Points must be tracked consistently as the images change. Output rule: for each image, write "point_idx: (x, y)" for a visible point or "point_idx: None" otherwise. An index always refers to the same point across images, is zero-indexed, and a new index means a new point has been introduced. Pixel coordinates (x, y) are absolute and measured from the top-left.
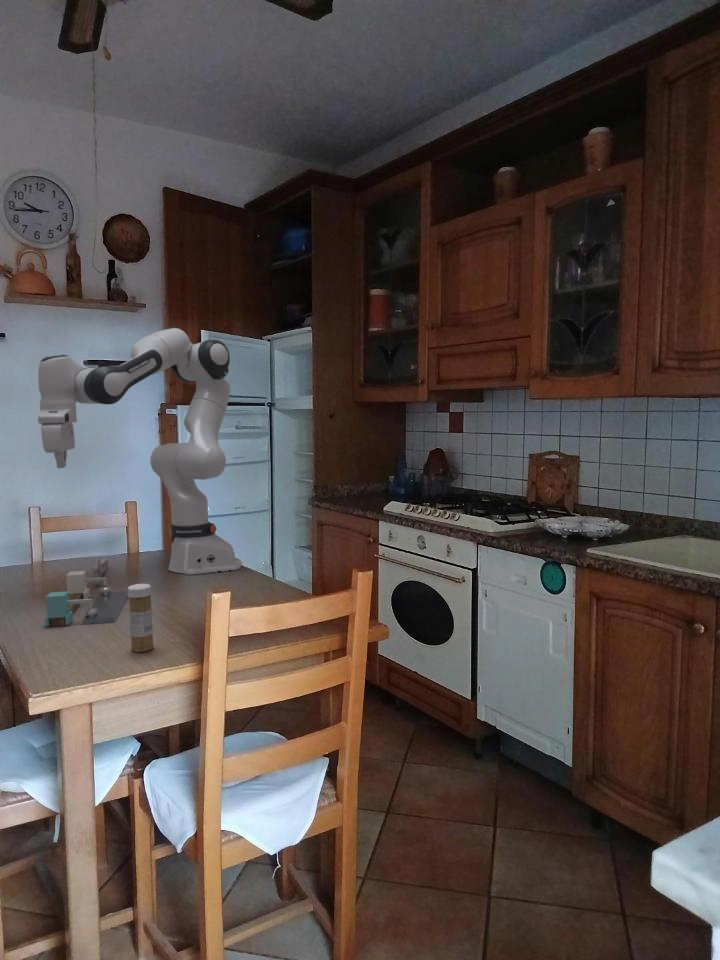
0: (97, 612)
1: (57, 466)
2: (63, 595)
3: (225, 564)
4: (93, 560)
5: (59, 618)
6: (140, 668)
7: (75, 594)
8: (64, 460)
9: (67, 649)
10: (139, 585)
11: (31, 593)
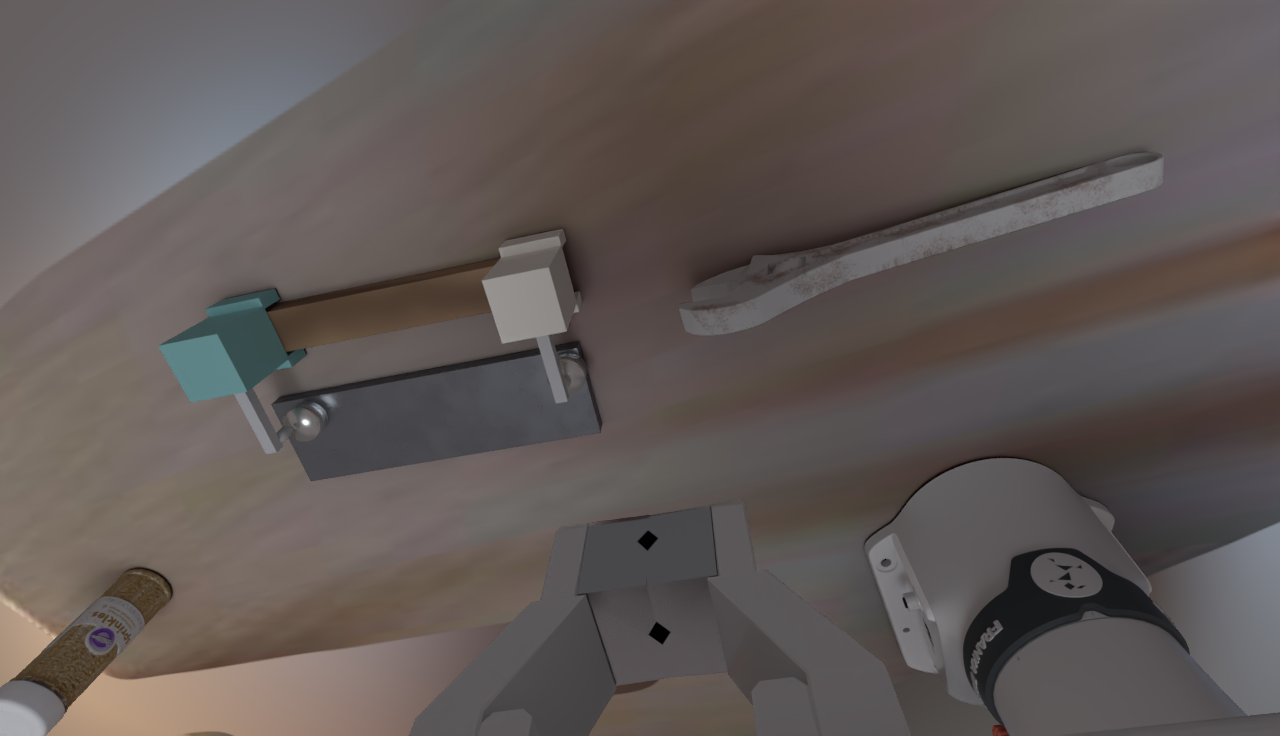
0: (343, 422)
1: (557, 545)
2: (193, 396)
3: (927, 646)
4: (717, 315)
5: None
6: (48, 608)
7: None
8: (733, 665)
9: (86, 434)
10: (16, 723)
11: (640, 11)
